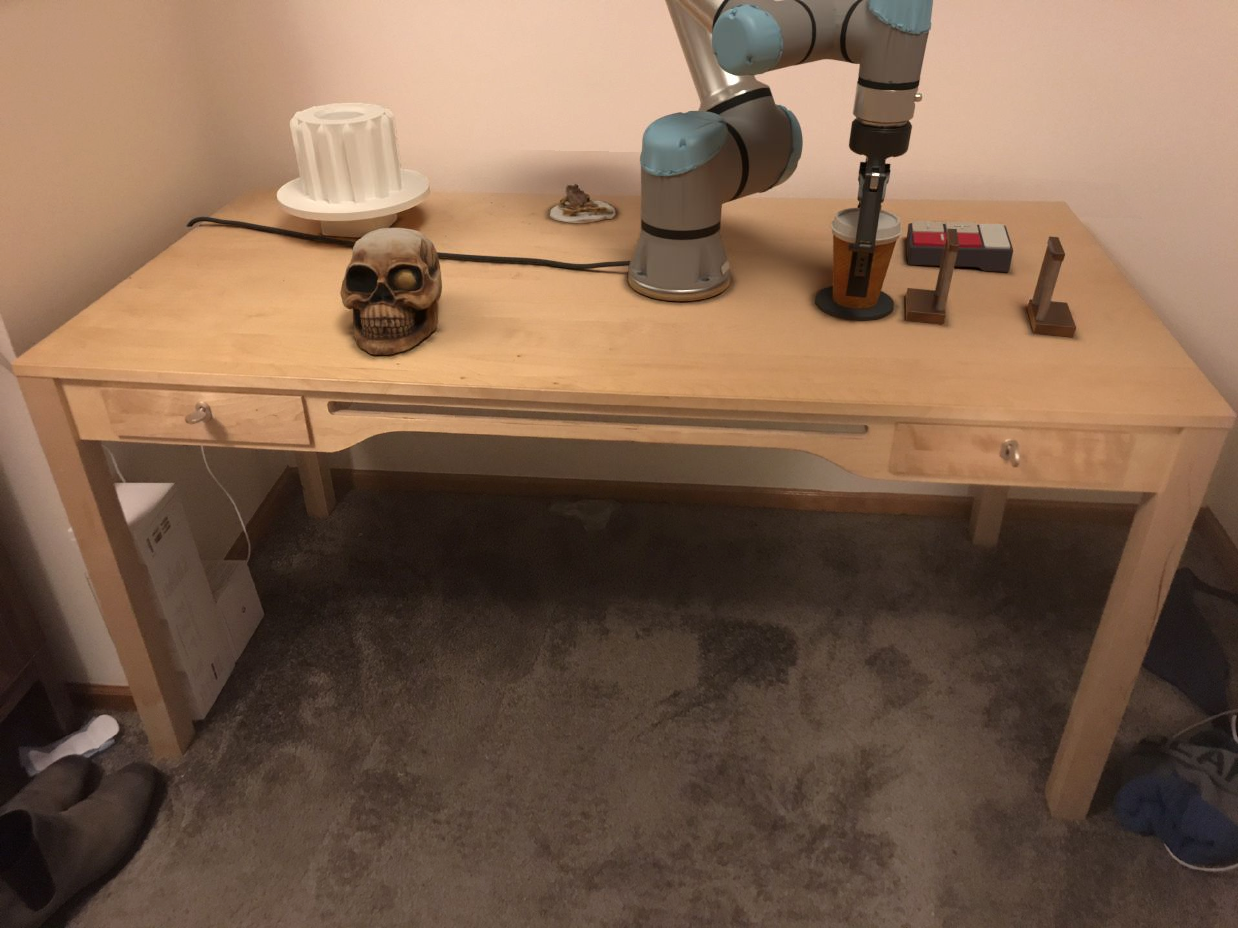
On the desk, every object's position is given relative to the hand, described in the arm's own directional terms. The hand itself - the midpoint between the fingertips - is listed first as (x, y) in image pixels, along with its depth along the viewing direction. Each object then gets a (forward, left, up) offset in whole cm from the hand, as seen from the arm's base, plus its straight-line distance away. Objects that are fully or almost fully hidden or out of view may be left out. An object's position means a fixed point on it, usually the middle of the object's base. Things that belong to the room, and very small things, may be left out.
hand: (857, 276), depth 127 cm
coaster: (0, 0, -4) cm, 4 cm away
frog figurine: (-49, +28, -4) cm, 57 cm away
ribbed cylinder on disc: (-84, +12, -4) cm, 85 cm away
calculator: (+15, +22, -4) cm, 27 cm away
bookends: (+18, 0, -4) cm, 19 cm away
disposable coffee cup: (0, 0, -4) cm, 4 cm away
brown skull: (-61, -21, -4) cm, 65 cm away
